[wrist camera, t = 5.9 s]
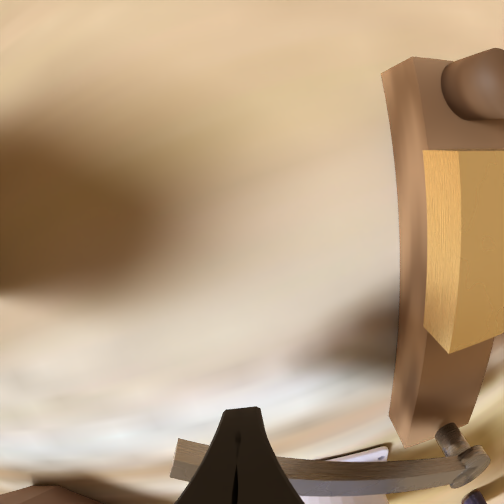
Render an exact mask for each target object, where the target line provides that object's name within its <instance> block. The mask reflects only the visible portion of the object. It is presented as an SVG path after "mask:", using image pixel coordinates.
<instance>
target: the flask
mask: <svg viewBox="0 0 504 504" xmlns="http://www.w3.org/2000/svg"><path fill="white" fill-rule="evenodd" d="M462 504H487V503H486V501H485V500H484V498H483V496H482V494H481V493H480V491H479V489H475V490H473V491H471V492H470V493H468V494H467V495H466V496H465V497H464V498H463V500H462Z"/></svg>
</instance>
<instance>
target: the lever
mask: <svg viewBox="0 0 504 504" xmlns="http://www.w3.org/2000/svg"><path fill="white" fill-rule="evenodd" d="M435 439H436V441H437V443H438V445H439V446H440V448H441V450H442V451H443V453H444V455H445V457H441V458H431V459H421V460H407V461H386V462H341V461H320V460H306V459H294V458H284V457H276V458H277V460H278V462H279V464H280V466H281V467H282V469H283V471H284V473H285V474H286V476H287V478H288V479H289V481H290V483H291V484H292V486H293V487H294V489H295V490H296V492H297V493H298V495H299V496H318V497H336V496H364V495H378V494H389V493H398V492H406V491H414V490H420V489H427V488H432V487H438V486H443V485H448V484H450V486H451V488H458V487H461V486H463V485H465V484H467V483H469V482H471V481H472V480H473V479H475V478H476V477H477V476H479V475H480V474H481V473H482V472H483V471H484V470H485V469H486V468H487V466H488V465H489V463H490V458H489V456H488V455H487V453H486V452H485V450H484V449H483V447H482V446H481V445H476V446H473V447H470V445H469V444H468V442H467V441H466V439H465V438H464V436H463V435H462V433H461V431H460V430H459V428H458V427H457V426H456V424H455V423H453V422H451V423H448V424H446V425H444V426H443V427H441V428H440V429H439V430H438V431H437V433H436V434H435ZM208 448H209V445H205V444H200V443H196V442H191V441H187V440H183V439H179V438H178V442H177V446H176V450H175V453H174V458H173V463H172V468H171V473H170V477H171V478H175V479H179V480H184V481H188V482H190V480H191V479H192V477H193V476H194V474H195V472H196V471H197V469H198V467H199V465H200V464H201V462H202V460H203V458H204V456H205V454H206V452H207V450H208Z"/></svg>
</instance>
